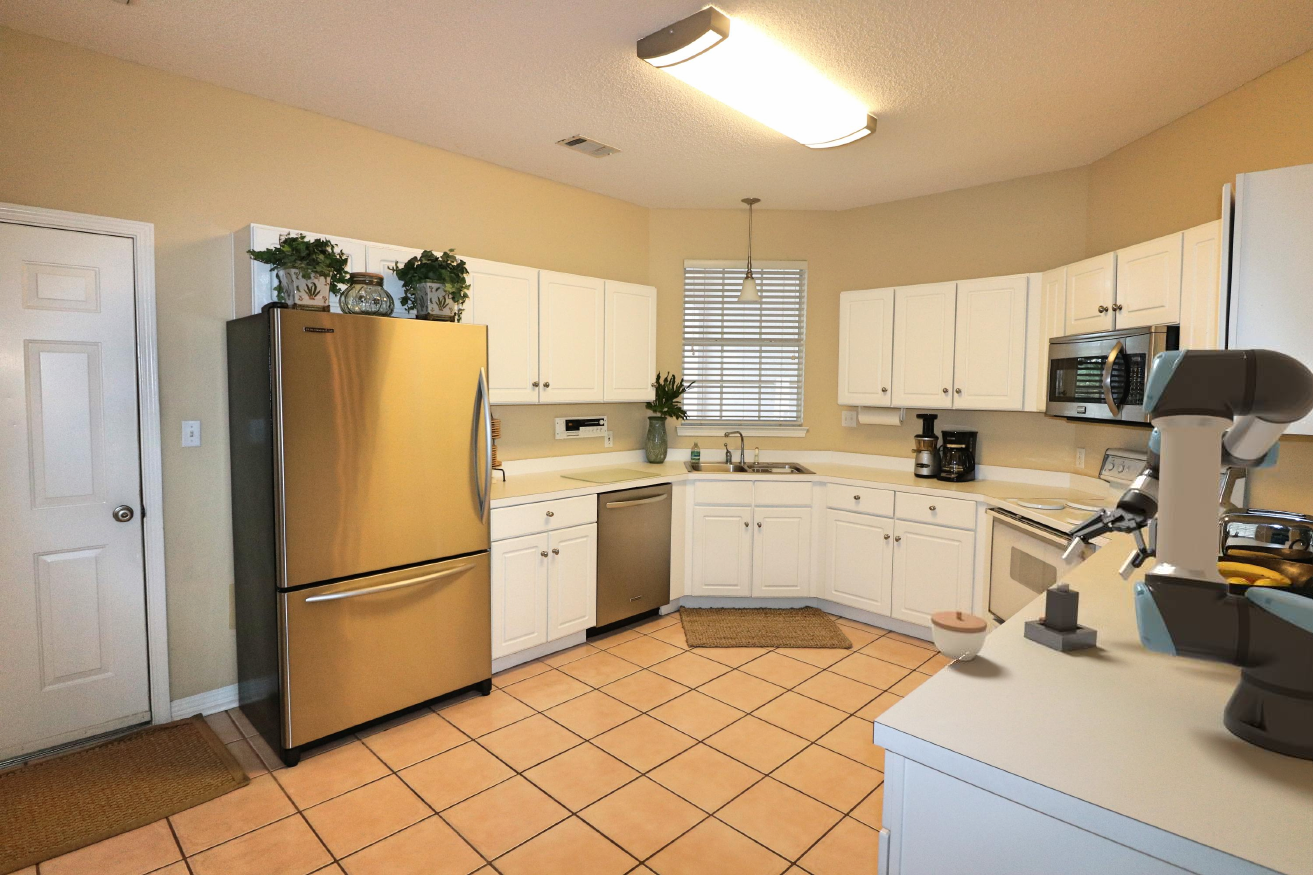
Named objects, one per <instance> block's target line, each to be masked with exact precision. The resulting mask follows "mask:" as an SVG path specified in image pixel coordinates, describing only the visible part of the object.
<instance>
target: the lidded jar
mask: <svg viewBox="0 0 1313 875" xmlns="http://www.w3.org/2000/svg"><path fill="white" fill-rule="evenodd" d="M930 621H931V636H932V639H933V643H934V645H935V647H936V648H937V649H938V650H939V651H940V652H941V655H942V656H944V657H945V658H948V659H950V660H956V661H961V662H962V661H963V662H964V661H971V660H972V659H974V657H975V656H977V655H978V654H980V652H981V651H982V649H983V647H984V645H985V642H986V634H987V629H988V628H987V626H988V624H987V622H986V620H985V619H984V618H982V617H979V616H976V615H973V614H970V613H966V612H963V611H961V610H956V611H952V610H951V611H949V610H948V611H947V610H945V611H943V610H942V611H937V612H933V614H932V615H931V618H930ZM967 652H969V653H967ZM966 653H967V654H966ZM963 655H965V656H963ZM962 656H963V657H962ZM960 657H962V658H961V659H960V660H958V659H959V658H960Z"/></svg>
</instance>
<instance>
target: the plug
mask: <svg viewBox="0 0 1313 875" xmlns="http://www.w3.org/2000/svg"><path fill="white" fill-rule="evenodd" d="M1079 602H1080V591H1076V590H1074V589H1070V583H1067V582H1056V587H1053V588H1052V587H1051V588H1046V595H1045V610H1044V612H1045V613H1044V617H1045V627H1047V628H1050V629H1052V630H1055V631H1058V632H1066V631H1073V630H1077V624H1078V617H1079Z"/></svg>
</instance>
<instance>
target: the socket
mask: <svg viewBox="0 0 1313 875" xmlns="http://www.w3.org/2000/svg"><path fill="white" fill-rule="evenodd" d="M1023 637H1024V638H1026V639H1029V640H1032V642H1037V643H1038V644H1041V645H1044V646H1046V647H1048V646H1049V648H1052V649H1053V648H1054V650H1055V651H1058V650H1059V651H1058V652H1068V650H1069V651H1074V650H1075V649H1076V650H1081V649H1080V648H1082V649H1086V647H1088V648H1091V647H1090V646H1094V647H1097V640H1098V630H1097V629H1094V628H1091V627H1088V626H1086V625H1085V626H1084V625H1082V624H1079V623H1077V630H1073V631H1066V632H1058V631H1055V630H1052V629H1050V628H1047V627H1045V616H1043V617H1038V619H1035V620H1033V619H1032V620H1026V621H1024V630H1023Z"/></svg>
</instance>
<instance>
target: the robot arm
mask: <svg viewBox="0 0 1313 875" xmlns="http://www.w3.org/2000/svg"><path fill="white" fill-rule="evenodd" d="M1149 370H1150V371H1149V374H1148V378H1147V379H1148V380H1147V383H1146V388H1145V391H1144V392H1145V394H1144V398H1143V403H1142V404H1143V405H1142V408H1141V409H1142V410H1141V412H1142V413H1143V414H1146V415H1147V416H1149V415H1151V425H1152V426H1153V427H1154V428H1153V430H1152V432H1151V436H1150V437H1149V440H1148V450H1147V455H1146V459H1145V464H1144V466H1143V467H1142V469H1141V470H1140V472H1139V473H1138V475H1137V476H1136V477H1135V479H1134V480H1133V481H1131V484H1130V485H1129V487H1127V489H1126V490H1125V492H1124V494H1123V495H1122V496H1121V497H1120V499H1119V500H1118V502H1117V504H1116V507H1115V509H1114V510H1112V511H1108V510H1106V509H1105V508H1104V507H1100V508H1099V509H1098V510H1097V511H1096V512H1095V513H1094V514H1092V515H1091V516H1090V517H1088V518H1086V519H1084V520H1083V521H1081V522H1080V523H1079V524H1077V525H1075V526H1074V527H1072V528H1071V529H1069V530H1068V531H1067V532H1068V534H1069V535H1070V537H1071V540H1070V542H1069V543H1068V544H1067V546H1066V549H1067V550H1066V551H1065V552H1064V554H1063V555H1062V557H1061V559H1062V560H1063V562H1064V563H1065V564H1066V565H1067V566H1071V565H1072V564H1073V562H1074V561H1075V559H1076V558H1077V556H1078V555H1079V554H1080V553H1081V552H1082V550H1083V549H1084V547H1085V543H1086V542H1088V541H1091V540H1092V539H1095V538H1098V537H1100V536H1103V535H1105V534H1107V533H1114V532H1118V533H1125V534H1126V535H1130V534H1132V535H1133V537H1134V540H1135V544H1136V546H1137V549H1138V550H1136V549H1133V550H1132V551H1131V553H1130V554H1129V556H1128V558H1127V559H1126V560H1125V561H1124V563H1123V564H1122V566H1121V567H1120V568H1119V570H1118V572H1117V573H1118V574H1119V575H1120V577H1121V578H1122V580H1123V581H1128V580H1129V578H1130V577H1131V576H1132V574H1133V573H1134V572H1135V570H1136V569H1141V567H1142V565H1143V564H1144V563H1145V561H1146V560H1147V559H1149V558H1154V559H1155V564H1154V565H1153V566H1152V567H1151V568H1149V569H1148V570H1146V571H1145V572H1144V580H1143V581H1138V582H1135V583H1134V586H1133V592H1134V594H1133V595H1134V597H1133V598H1134V609H1135V610H1134V611H1135V618H1136V619H1135V620H1136V625H1137V631H1138V635H1139V636H1138V637H1139V640H1140V642H1141V644H1142V646H1143V647H1145V649H1147V650H1149V651H1152V652H1156V653H1159V654H1165V655H1170V656H1171V657H1174V658H1177V657H1180V658H1185V659H1192V660H1197V661H1198V660H1199V661H1202V662H1209V663H1214V664H1215V663H1216V664H1222V665H1226V666H1233V667H1239V668H1240V676H1239V681H1238V684H1237V685H1236V687H1235V688H1234V689H1233V692H1232V693H1231V696H1230V698H1229V699H1228V701H1227V702H1226V705H1225V706H1224V710H1223V719H1222V723H1223V725H1224V727H1225V728H1226V729H1227V730H1229V731H1230V732H1231V733H1233V734H1234V735H1236V736H1237V737H1239V738H1241V739H1244V740H1245V741H1247V742H1249V743H1252V744H1254V745H1257V746H1259V747H1262V748H1265V749H1267V750H1271V751H1273V752H1276V753H1279V754H1283V755H1287V756H1292V757H1296V758H1301V759H1305V760H1313V599H1312V598H1309V597H1305V596H1303V595H1299V594H1296V593H1292V592H1288V591H1283V590H1278V589H1273V588H1269V587H1257V586H1253V587H1249V588H1248V589H1247V590H1246V591H1244V595H1240V594H1239V595H1237V594H1231V593H1230V583H1229V581H1228V580H1227V579H1226V578H1225V577H1224V576H1223V575H1222V574H1220V572H1219V539H1220V537H1219V536H1220V509H1221V508H1220V507H1221V506H1220V505H1221V502H1220V501H1221V474H1222V473H1221V472H1222V471H1221V470H1222V469H1221V468H1222V467H1228V468H1229V467H1230V468H1244V469H1245V468H1249V469H1253V470H1255V469H1271V468H1274V467H1275V466H1276V465H1277V464H1278V460H1279V456H1280V441H1279V440H1280V438H1281V436H1282V434H1284V433H1285V431H1287V429H1288V428H1289V426H1290V425H1291V424H1292V423H1296V422H1298V421H1301V420H1302V419H1304V418H1305V417H1307V416H1308V415H1309V414H1310V412H1312V410H1313V372H1312V371H1311V370H1310V368H1308V366H1306V365H1305V364H1304V363H1302V362H1301V361H1300V360H1298V359H1297V358H1294V357H1292V356H1291V355H1289V354H1287V353H1283V352H1279V351H1277V350H1270V349H1264V348H1251V349H1188V348H1185V349H1182V350H1181V349H1180V350H1164V351H1161V352H1159V353H1158V354H1156V355H1155V357H1154V358H1153V360H1152V363H1151V367H1150V369H1149ZM1235 417H1236V418H1235ZM1234 418H1235V419H1234ZM1156 515H1157V516H1156ZM1109 524H1110V525H1111V526H1110V525H1109ZM1146 527H1148V546H1147V544H1146V542H1145V539H1144V535H1143V533H1142V532H1143V531H1142V529H1144V528H1146Z"/></svg>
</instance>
